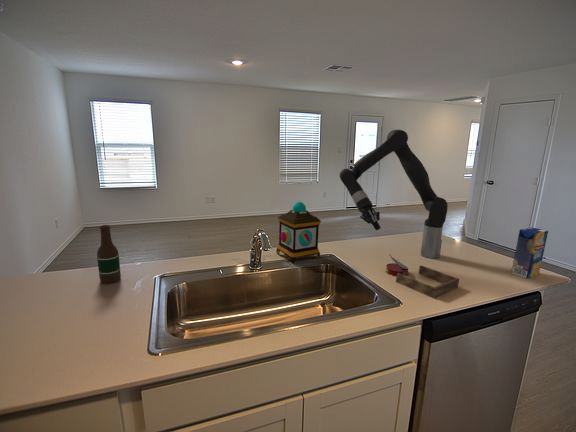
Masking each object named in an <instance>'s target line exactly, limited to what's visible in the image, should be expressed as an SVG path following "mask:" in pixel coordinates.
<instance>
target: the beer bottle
mask: <svg viewBox="0 0 576 432" xmlns="http://www.w3.org/2000/svg"><path fill="white" fill-rule="evenodd" d="M99 229H100V246H99V247H98V250H97V252H96V258H97V259H96V260H97V266H98V276H99V282H100V283H102V285H106V284H107V285H111V284H114V283H117V282H119V281H120V280H121V278H122V275H121V264H120V254H119V250H118V248H117V247H116V245H115V244H114V243H113V240H112V236H111V235H112V233H111V230H110V229H111V226H110V225H109V224H103V225H101V226H99Z"/></svg>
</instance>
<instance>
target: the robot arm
mask: <svg viewBox="0 0 576 432" xmlns="http://www.w3.org/2000/svg"><path fill="white" fill-rule="evenodd" d="M408 140H409V136H408V133H407V132H406V131H405V130H403V129H393V130H390V131H389V132H388V134H387V137H386V140H385V141H383V142H382V144H380V145H379V146H377V147H376V148H375V149H373V150H371V151H370V152H368V153H366V154H365V155H363V156H362V157H361V158H360V159H358V160H357V161H356V162H354V165H353V167H352V169H349V168H343V169H342V170H340V172H339V179H340V180H341V182H342V183H343V185H344V186H345V188H346V189H347V191H348V193H349V195H350V196H351V199H352V201H353V203H354V205H355V207H356V208H357V210H358V212H359V213H361V215H360V216H359V217H360V218H359V219H362V220H363V221H364V222H366V223H367V224H371V225H372V226H373V228H374V230H375V231H379V230H380V229H381V225H380V223H379V221H381V220H380V219H381V218H380V211H376V210H375V208H373V202H372V201H371V200H370V197H369V196H368V194H367V193H366V192H365V191H364V188H363V187H362V185H361V184H360V183H359V182H358V180H359V178H360V177H361V176H362V174H365V172H366V171H368V170H369V169H371V168H372V167H373V166H375V165H376V164H377V163H378V162H380V161H381V160H382V159H384V158H385V157H387V156H388V155H390V154H392V153H394V154H395V155H396V156H397V158H398V160H399V163H400V164H401V167H402V169H403V171H404V172H405V175H406V176H407V178H408V179H409V182H410V183H411V184H412V185H413V187H414V189H415V190H416V192H417V193H418V195H419V197H420V199H421V202H422V204H423V206H424V208H425V210H426V211H428V217H427V218H426V219H425V220H424V223H423V224H424V225H423V233H422V241H421V248H420V249H421V250H420V255H421V257H425V258H429V259H438V258H439V257H441V249H442V243H443V240H442V235H443V228H444V224H445V223H446V219H447V214H448V209H449V208H448V207H449V206H448V202H447V200H446V199H445V198H443V197H439V195H437V194H436V192H435V191H434V189H433V188H432V186H431V182H430V177H429V174H428V171H427V169H426V167H425V166H424V165H423V163H422V161H421V160H420V159H419V158H418V157H417V155H415V153H414V152H413V150H411V148H410V146H409V144H408Z"/></svg>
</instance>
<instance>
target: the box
mask: <svg viewBox="0 0 576 432" xmlns="http://www.w3.org/2000/svg"><path fill="white" fill-rule="evenodd" d="M418 268H419V270H418V274H419V275H421V276H423V277H426V278H429V279H432V280H433V281H437V282H438V283H441V284H438V285H436V286H432V285H429V284H427V283H426V282H425V283H424V282H422V281H420V280H417V279H415V278H412V277H410V276H408V275H407V276H405V275H403V274H400V273H397V276H396V278H395V283H397V284H400V285H402V286H403V287H407V288H410V289H412V290H413V291H416V292H419V293H421V294H423V295H425V296H428V297H429V298H432V299H436V298H438V297H440V296H442V295H444V294H447V293H449V292H451V291H453V290H455V289H458V288H459V282H460V278H458V277H455V276H452V275H449V274H446V273H444V272H441V271H438V270H436V269H432V268H430V267H427V266H424V265H419V267H418Z"/></svg>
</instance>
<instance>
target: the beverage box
mask: <svg viewBox="0 0 576 432" xmlns="http://www.w3.org/2000/svg"><path fill="white" fill-rule="evenodd" d="M548 234H549V230H546V229H541V228H537V227H527V228H521V229H519V232H518V237H517V242H516V248H515V252H514V258H513V262H512V269H511V271H510V272H511V274H512V275H515V276H518V277H522V278H525V279H530V278H533V277H536V276H538V275H540V271H541V266H542V262H543V257H544V253H545V248H546V243H547V239H548V236H549V235H548Z"/></svg>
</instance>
